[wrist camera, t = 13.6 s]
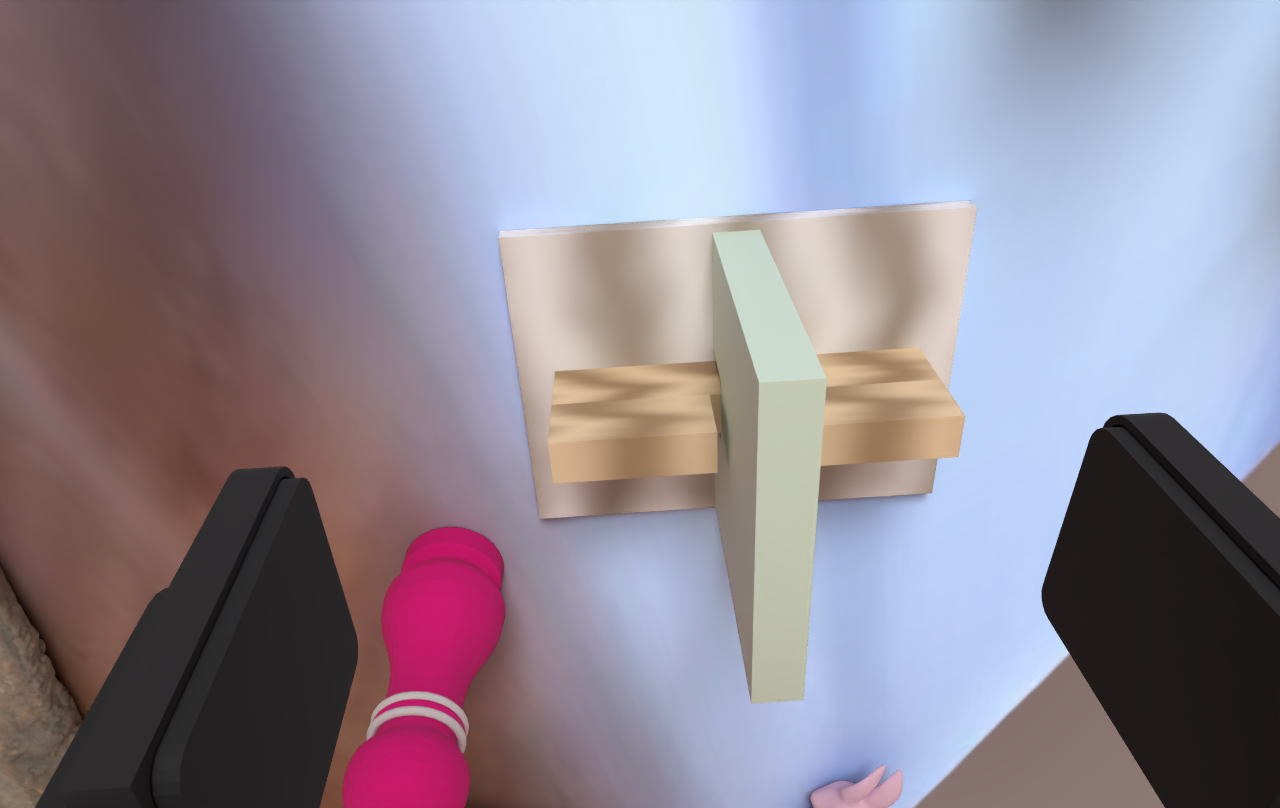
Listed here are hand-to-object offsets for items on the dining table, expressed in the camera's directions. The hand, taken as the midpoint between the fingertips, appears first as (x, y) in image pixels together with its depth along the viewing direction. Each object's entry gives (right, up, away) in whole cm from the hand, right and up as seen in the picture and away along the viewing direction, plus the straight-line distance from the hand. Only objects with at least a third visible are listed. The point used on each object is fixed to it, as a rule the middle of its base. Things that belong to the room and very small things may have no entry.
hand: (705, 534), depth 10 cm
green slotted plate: (+5, +3, +37) cm, 37 cm away
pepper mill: (-13, -9, +45) cm, 47 cm away
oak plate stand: (+5, +4, +38) cm, 38 cm away
